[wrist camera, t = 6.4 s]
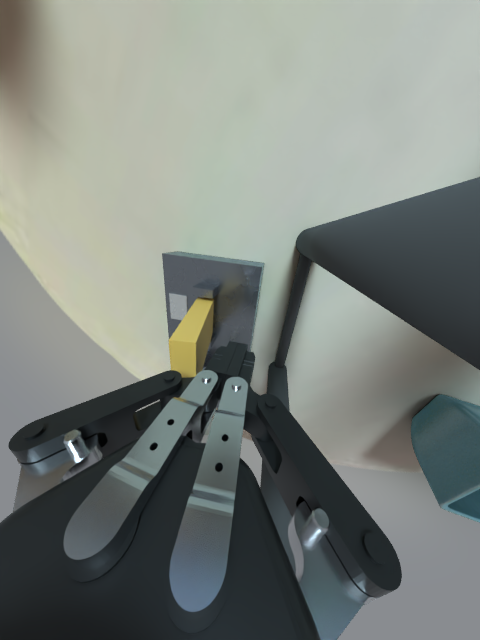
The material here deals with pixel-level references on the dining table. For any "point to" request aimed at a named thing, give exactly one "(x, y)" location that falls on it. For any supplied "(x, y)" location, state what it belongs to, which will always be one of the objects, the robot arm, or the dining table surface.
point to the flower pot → (450, 453)
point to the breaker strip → (214, 295)
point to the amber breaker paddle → (192, 338)
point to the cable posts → (395, 282)
